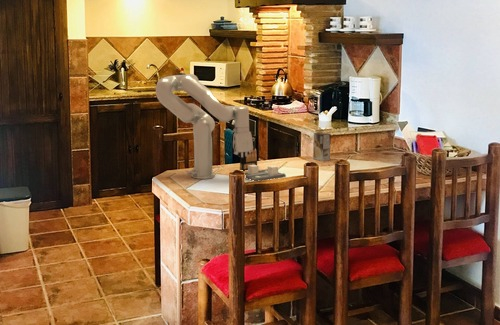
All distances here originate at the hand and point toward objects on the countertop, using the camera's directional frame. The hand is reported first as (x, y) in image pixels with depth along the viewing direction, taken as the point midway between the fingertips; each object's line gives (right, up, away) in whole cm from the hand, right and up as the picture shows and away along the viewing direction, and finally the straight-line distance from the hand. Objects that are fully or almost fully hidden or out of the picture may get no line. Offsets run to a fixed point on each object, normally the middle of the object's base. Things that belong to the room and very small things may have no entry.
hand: (243, 164), depth 348 cm
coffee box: (+47, +2, +48) cm, 67 cm away
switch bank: (+11, -7, +5) cm, 14 cm away
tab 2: (+16, -6, +4) cm, 17 cm away
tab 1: (+5, -5, +6) cm, 9 cm away
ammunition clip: (+3, -4, +20) cm, 21 cm away
